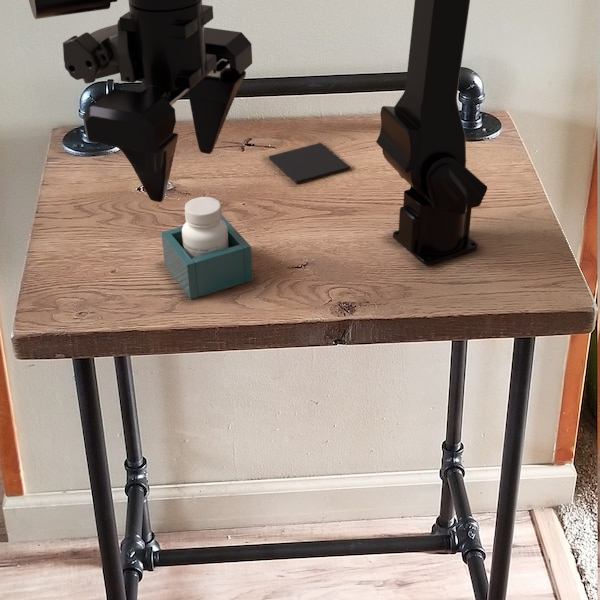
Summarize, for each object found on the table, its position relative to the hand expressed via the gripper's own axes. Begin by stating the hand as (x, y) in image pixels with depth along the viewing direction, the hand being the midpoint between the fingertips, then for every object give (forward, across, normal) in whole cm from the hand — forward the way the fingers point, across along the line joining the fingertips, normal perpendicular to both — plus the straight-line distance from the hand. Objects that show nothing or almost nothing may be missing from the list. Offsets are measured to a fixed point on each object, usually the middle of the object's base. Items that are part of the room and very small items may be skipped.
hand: (182, 175), depth 86 cm
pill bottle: (+14, -4, -1) cm, 14 cm away
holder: (+13, -4, -1) cm, 14 cm away
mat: (+13, -29, 0) cm, 32 cm away
